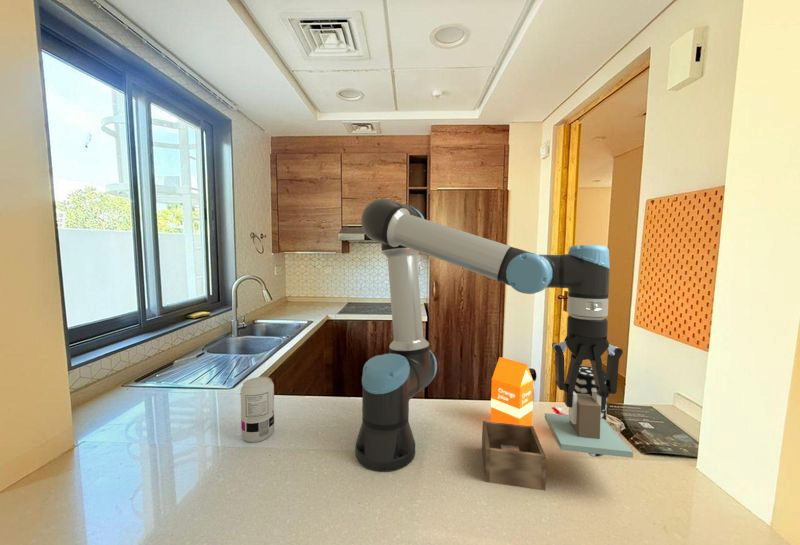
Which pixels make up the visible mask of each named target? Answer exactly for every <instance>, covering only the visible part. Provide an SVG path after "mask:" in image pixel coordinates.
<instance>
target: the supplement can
mask: <svg viewBox="0 0 800 545" xmlns="http://www.w3.org/2000/svg"><path fill="white" fill-rule="evenodd" d="M240 423H241V426H240V428H241V430H240V434H241V439H242V440H243V441H245V442H247V443H259V442H262V441H265V440H267V439H268V438H270V437H271V435H273V434H274V432H275V384H274V382H273V380H272V378H271V377H268V376H257V377H252V378H249V379H247V380H246V379H245V381H243V384H242V386H241V389H240Z"/></svg>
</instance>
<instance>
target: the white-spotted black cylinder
mask: <svg viewBox="0 0 800 545" xmlns="http://www.w3.org/2000/svg"><path fill="white" fill-rule="evenodd" d="M603 375H604V380H605V382H606V370H605V371H604V370H603ZM592 391H595V392H597V390H596V386H595V381H594V376H593V371H592V366H587V365H580V369H579V373H578V377H577V381H576V384H575V388H574V392H575V393H581V394H590V395H591V396H592ZM607 402H608V397H607V398H606V408H605V410H601V418H602V419H604V420H605V421H606V422H607V412H608V411H607V409H608V403H607ZM588 455H589V456H591V457H601V456H604V455H603V454H594V453H588Z"/></svg>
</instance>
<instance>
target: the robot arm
mask: <svg viewBox="0 0 800 545" xmlns="http://www.w3.org/2000/svg"><path fill="white" fill-rule="evenodd" d="M360 223H361V228H362V230H363V233H364V234H365V236H366V237H367V238H369V239H370V240H372V241H373V242H376V243H379V244H380V245H381V253H382V254H383V255H385V257H386V258H387V268H388V281H389V283H388V284H389V294H390V303H391V304H390V306H391V319H392V331H393V332H392V333H393V340H392V342H391V343H390V344H389V348H388V349H389V350H388V351H389V353H384V354H380V355H379V354H377V355H374V356H372V357H371V358H369V359H368V360H367V361H366V362H365V363H364V365H363V368H362V376H361V385H362V386H361V387H362V388H361V390H362V393H361V394H362V398H361V399H362V403H361V404H362V406H361V407H362V409H361V411H362V415H361V416H362V422H361V426H360V428H359V431H358V435H357V438H356V441H355V445H354V446H355V449H354V450H355V451H354V452H355V459H356V461H357V462H358V463H359V464H360V465H361V466H362V467H364V468H366V469H369V470H372V471H377V472H391V471H396V470H400V469H403V468H404V467H406V466H408V465H410V463H412V461H413V460H414V458H415V456H416V440H415V436H414V435H413V430H412V428H411V424H410V421H409V417H410V412H409V411H410V410H409V409H410V408H409V406H410V404H409V403H410V400H411V399H413V397H415V396H416V395H417V394H419V393H420V392H421V391H423V389H425V388H427V387H428V386H429V385H430V384H431V383H432V381H433V380H434V378H435V377H436V374H437V370H438V363H437V362H438V361H437V359H436V356H435V354H434V353H433V352H432V349H430V347H431V346H430V342H429V341H428V340H427V339H425V337H424V328H423V327H424V326H423V317H422V316H423V315H422V303H421V291H420V278H419V277H420V276H419V264H418V254H419V253H421V254H424V255H426V256H429V257H431V258H434V259H437V260H441V261H442V262H445V263H449V264H451V265H453V266H457V267H459V268H462V269H465V270H467V271H469V272H470V271H471V272H473V273H476V274H478V275H480V276H483V277H487V278H488V279H492V280H495V281H497V282H500V283H502V284H504V285H507V286H510V287H511V288H512V289H513V290H515V291H517V292H518V293H521V294H526V295H533V294H537V293H540V292H542V291H544V290H545V289H547V288H551V289H553V288H554V289H555V288H556V289H567V310H566V312H567V313H568V314H569V315H568V316H567V318H566V319H567V321H566V324H567V325H566V336H565V338H564V340H563V341H562V342H559V343H557V342H552V345H551V346H552V349H553V352H554V362H555V363H554V364H555V366H554V367H555V369H554V370H555V374H554V375H555V377H554V378H555V385H556V386H557V388H558V389H559V391H564V399H563V400H564V405H565V406H566V407H567V408H568V415H569V419H570V421H571V422H572V424H576V420H577V394H576V393H575V392H574V388H575V384H576V381H577V377H578V373H579V369H580V366H582V364H583V361H585V360H586V361H587V360H589V361H590V364H591V365H590V367H592V371H593V376H594V381H595V386H596V390H597V392H595V391H592V398H593V399H594V400H595V401H596V402H597V403H598V404H599V405H600V406H601V410H605V408H606V398H607V399H608V398H609V396H610V394H612V395H615V394H617V392H618V391H617V390H618V378H619V367H620V366H619V363H620V358H621V357H622V355H623V353H624V352H623V349H622V348H620V347H618V346H616V345H612V344H610V343H609V341H608V326H609V325H608V324H609V320H608V319H607V317H608V316H609V292H610V270H611V266H610V250H609V248H608V247H607V246H605V245H602V244H585V245H583V244H582V245H577V244H576V245H571V246H570V247H569V250H568V251H567V253H565V254H536V253H533V252H530V251H527V250H524V249H520V248H517V247H514V246H511V245H509V244H504V243H501V242H498V241H495V240H492V239H489V238H486V237H482V236H479V235H475V234H473V233H470V232H466V231H464V230H460V229H458V228H453V227H450V226H447V225H444V224H441V223H438V222H434V221H432V220H428V219H425V217H424V215H423V214H422V213H421V212H420V211H419V210H418V209H416V208H415V207H414V206H412V205H409V204H406V203H401V202H397V201H394V200H391V199H389V198H378V199H377V198H376V199H375V200H372V201H371V202H369V203H368V204H367V205H366V206H365V207H364V209H363V211H362V214H361V219H360ZM566 348H568V350H569V351H570V353H571V354H570V362H569V364H568V365H569V366H568V369H567V374H566V373H565V355H564V354H565V353H566ZM605 352H606V354H607V356H606V359H607V360H606V370H605V372H606V382H605V380H604V375H603V371H604V370H603V366H602V365H603V361H602V356H603V354H604V353H605ZM600 425H601V418H600Z"/></svg>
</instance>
